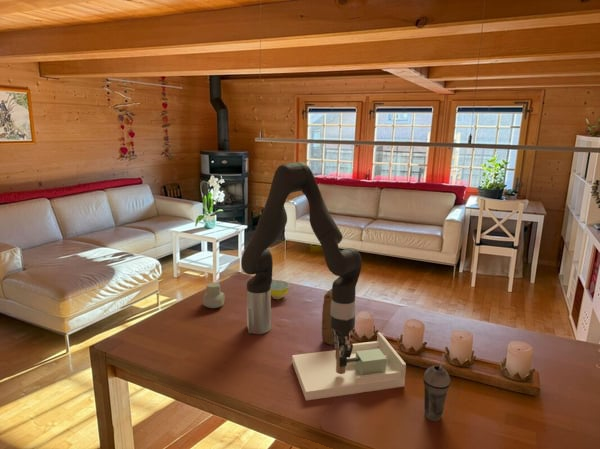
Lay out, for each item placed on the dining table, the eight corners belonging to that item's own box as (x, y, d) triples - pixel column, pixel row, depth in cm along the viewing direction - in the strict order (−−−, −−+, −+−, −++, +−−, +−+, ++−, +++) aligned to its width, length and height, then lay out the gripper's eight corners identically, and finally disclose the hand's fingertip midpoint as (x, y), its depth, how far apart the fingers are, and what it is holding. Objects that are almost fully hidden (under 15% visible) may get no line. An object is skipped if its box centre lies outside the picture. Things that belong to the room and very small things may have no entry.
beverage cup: (416, 407, 123) (421, 346, 118) (440, 406, 124) (446, 345, 119) (425, 425, 116) (431, 361, 111) (450, 424, 117) (458, 360, 112)
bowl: (292, 294, 200) (292, 282, 198) (284, 304, 190) (284, 291, 188) (270, 290, 204) (270, 278, 202) (261, 300, 193) (260, 287, 192)
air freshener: (221, 311, 182) (220, 289, 180) (202, 311, 182) (200, 289, 180) (225, 300, 193) (224, 280, 190) (207, 300, 193) (206, 279, 190)
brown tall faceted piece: (337, 348, 154) (339, 298, 149) (319, 343, 157) (320, 293, 152) (349, 335, 163) (351, 287, 158) (331, 330, 167) (333, 283, 161)
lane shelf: (305, 400, 126) (306, 377, 124) (292, 362, 145) (292, 342, 143) (404, 386, 133) (406, 364, 131) (379, 352, 152) (380, 332, 150)
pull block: (338, 381, 130) (339, 354, 127) (333, 370, 136) (334, 344, 133) (385, 375, 133) (387, 348, 131) (378, 364, 139) (379, 338, 136)
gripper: (324, 304, 133) (323, 352, 138) (338, 325, 120) (336, 377, 124) (347, 301, 135) (345, 349, 139) (362, 322, 122) (360, 374, 126)
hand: (341, 362), depth 132 cm, fingers closed on pull block, 3 cm apart
